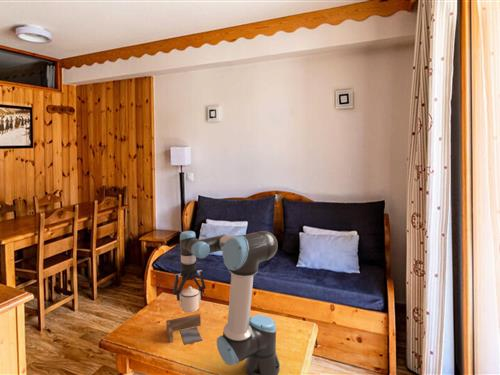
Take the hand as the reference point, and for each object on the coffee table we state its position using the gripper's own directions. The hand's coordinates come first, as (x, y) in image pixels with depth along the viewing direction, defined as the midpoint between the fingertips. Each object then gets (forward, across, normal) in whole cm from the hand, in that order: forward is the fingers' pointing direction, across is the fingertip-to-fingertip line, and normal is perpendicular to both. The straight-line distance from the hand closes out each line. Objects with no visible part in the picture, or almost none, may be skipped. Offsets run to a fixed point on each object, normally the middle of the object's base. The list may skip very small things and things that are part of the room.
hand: (189, 304), depth 166 cm
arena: (+17, +2, -1) cm, 17 cm away
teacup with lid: (+2, +1, 0) cm, 2 cm away
